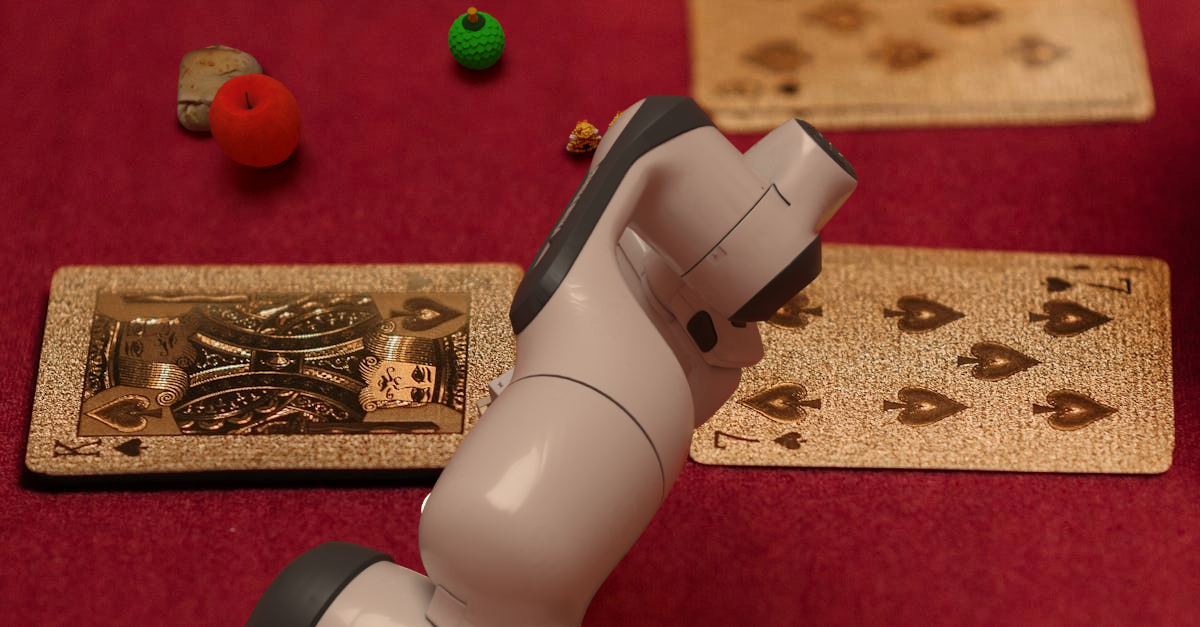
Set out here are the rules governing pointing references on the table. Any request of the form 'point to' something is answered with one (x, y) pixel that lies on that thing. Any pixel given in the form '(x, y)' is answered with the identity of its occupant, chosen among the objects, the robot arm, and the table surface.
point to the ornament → (476, 40)
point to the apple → (255, 120)
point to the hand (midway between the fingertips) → (592, 372)
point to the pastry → (208, 81)
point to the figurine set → (585, 137)
